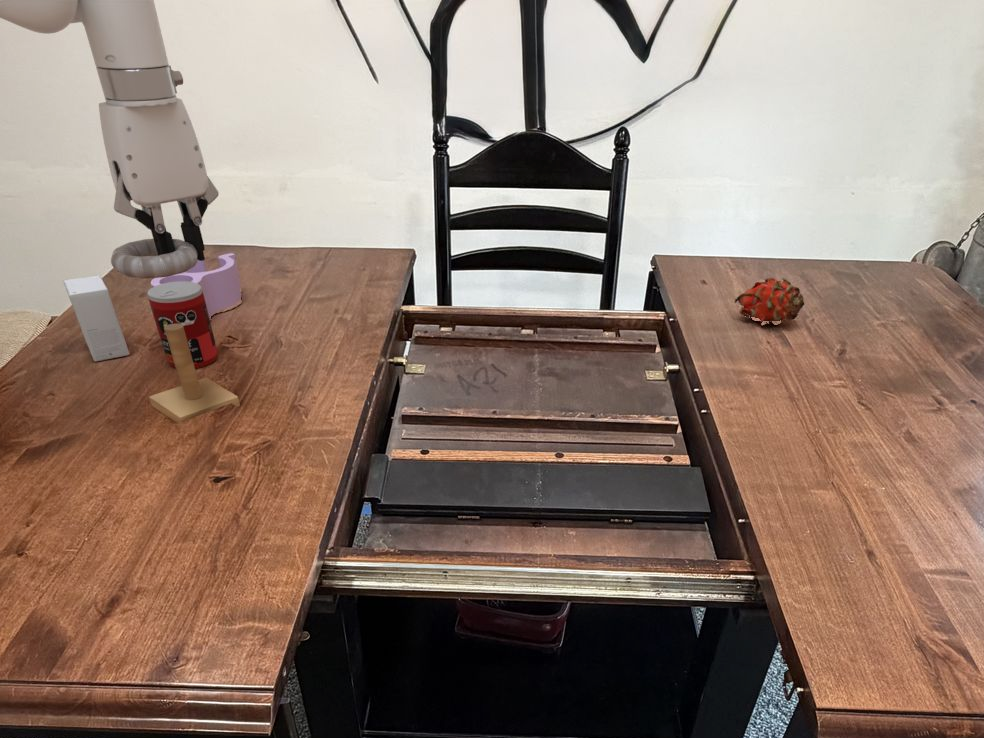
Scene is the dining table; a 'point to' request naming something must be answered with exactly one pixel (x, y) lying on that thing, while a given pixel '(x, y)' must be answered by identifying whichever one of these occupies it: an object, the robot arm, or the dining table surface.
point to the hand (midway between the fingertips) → (183, 259)
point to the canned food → (184, 319)
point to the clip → (212, 282)
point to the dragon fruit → (771, 301)
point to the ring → (153, 259)
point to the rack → (188, 384)
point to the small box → (97, 317)
